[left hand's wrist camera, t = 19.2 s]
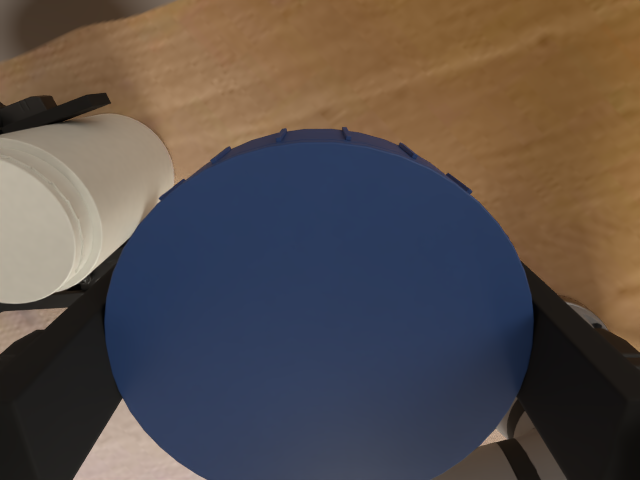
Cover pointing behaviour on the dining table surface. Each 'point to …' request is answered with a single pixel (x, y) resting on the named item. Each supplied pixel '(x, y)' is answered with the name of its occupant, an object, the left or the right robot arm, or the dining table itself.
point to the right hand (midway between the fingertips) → (135, 170)
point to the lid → (319, 314)
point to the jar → (73, 199)
